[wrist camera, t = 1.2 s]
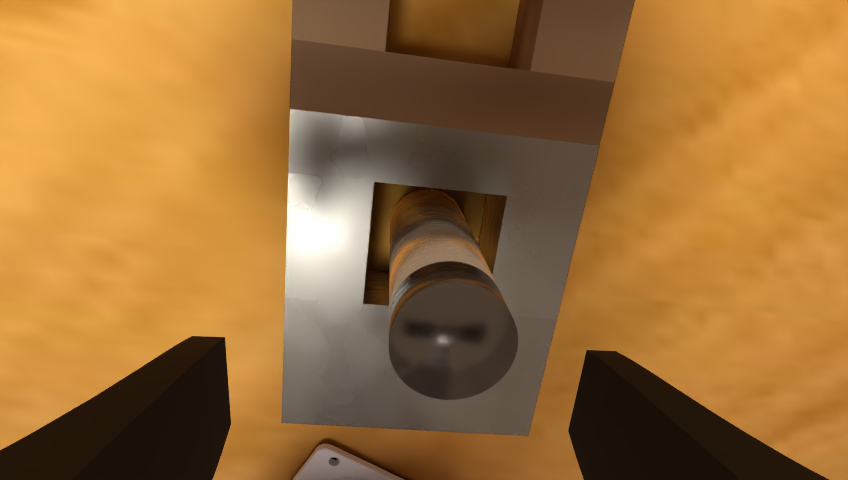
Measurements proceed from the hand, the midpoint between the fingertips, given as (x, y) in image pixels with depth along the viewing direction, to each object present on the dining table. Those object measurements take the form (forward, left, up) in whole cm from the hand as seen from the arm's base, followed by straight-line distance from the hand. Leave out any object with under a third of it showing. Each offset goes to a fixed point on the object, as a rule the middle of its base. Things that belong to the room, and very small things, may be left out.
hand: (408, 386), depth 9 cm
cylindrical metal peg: (-1, -1, -10) cm, 10 cm away
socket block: (-2, +1, -10) cm, 11 cm away
